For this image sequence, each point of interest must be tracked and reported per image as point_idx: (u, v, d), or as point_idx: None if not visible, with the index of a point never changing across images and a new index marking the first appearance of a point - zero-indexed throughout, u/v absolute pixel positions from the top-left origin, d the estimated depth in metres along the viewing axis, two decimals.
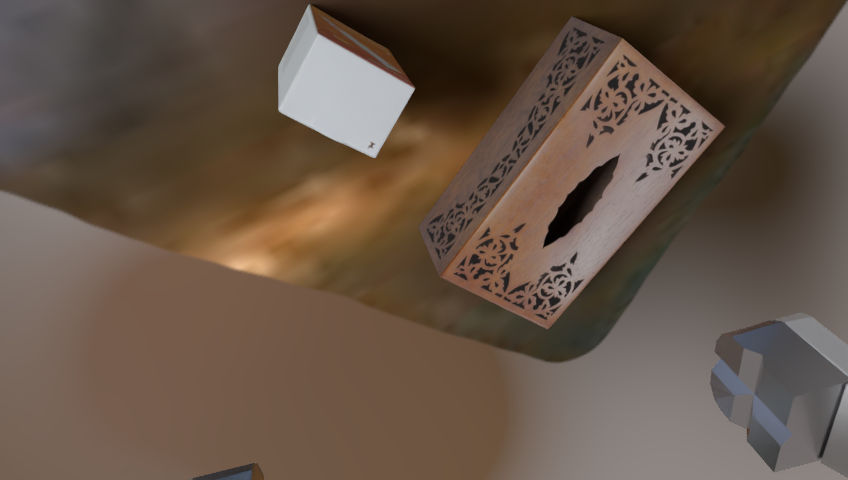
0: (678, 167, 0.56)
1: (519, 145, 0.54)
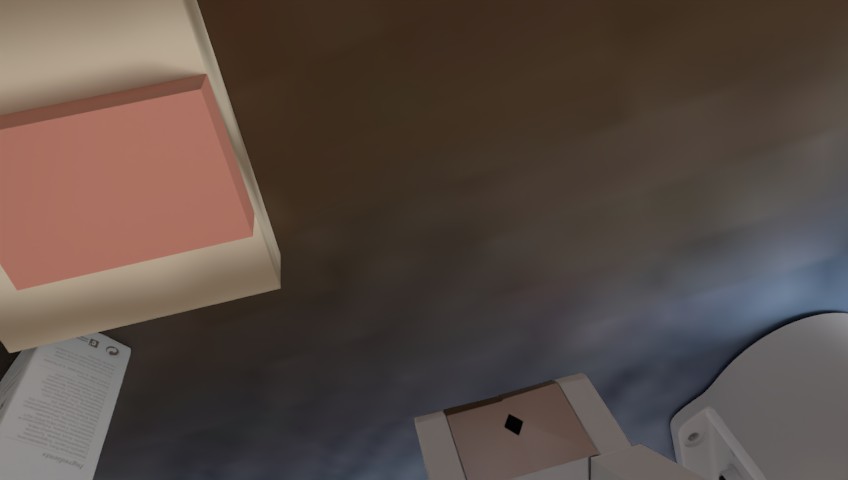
0: None
1: None
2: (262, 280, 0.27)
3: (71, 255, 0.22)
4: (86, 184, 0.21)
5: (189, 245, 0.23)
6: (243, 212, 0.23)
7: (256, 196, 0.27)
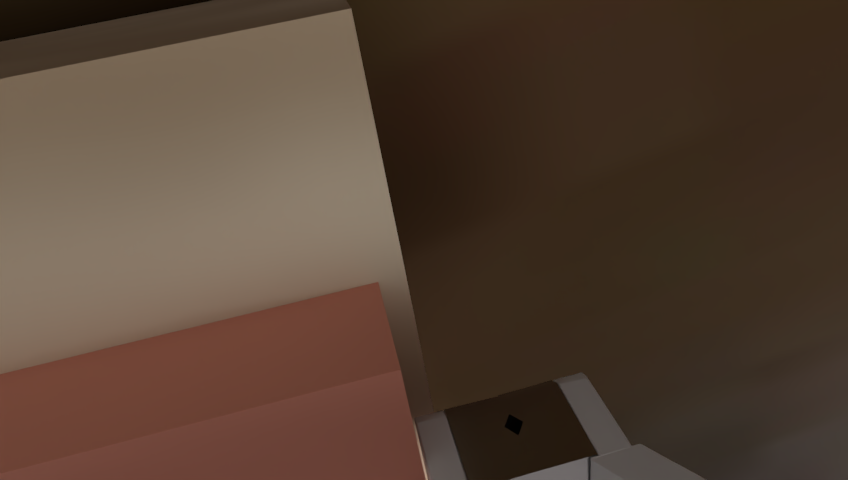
0: None
1: None
2: None
3: None
4: None
5: None
6: None
7: None
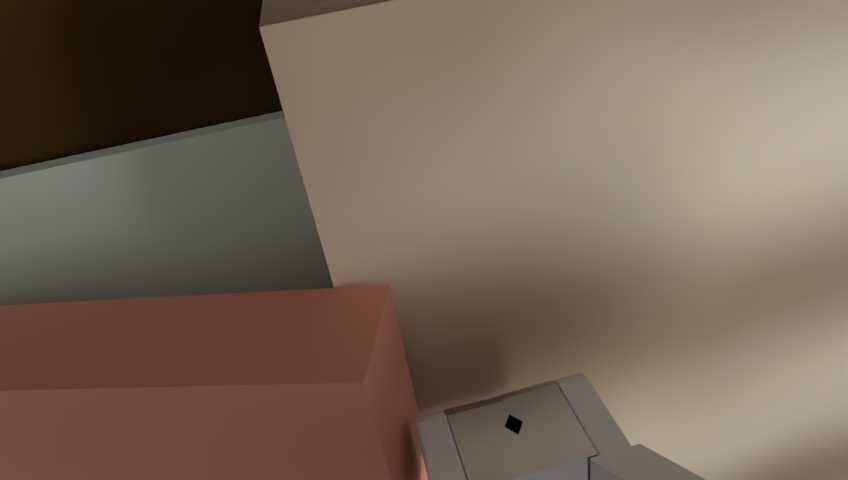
0: None
1: None
2: None
3: None
4: None
5: None
6: None
7: None
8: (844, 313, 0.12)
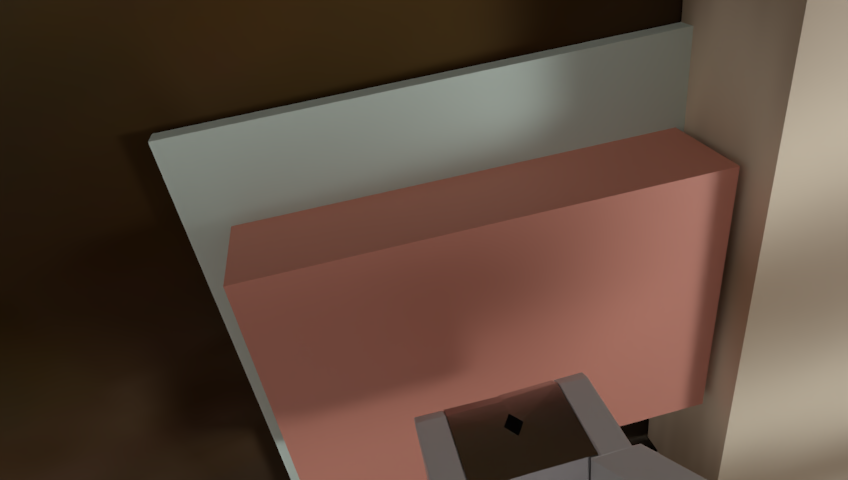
0: None
1: None
2: None
3: (417, 452, 0.12)
4: (482, 341, 0.11)
5: None
6: (705, 368, 0.13)
7: None
8: None
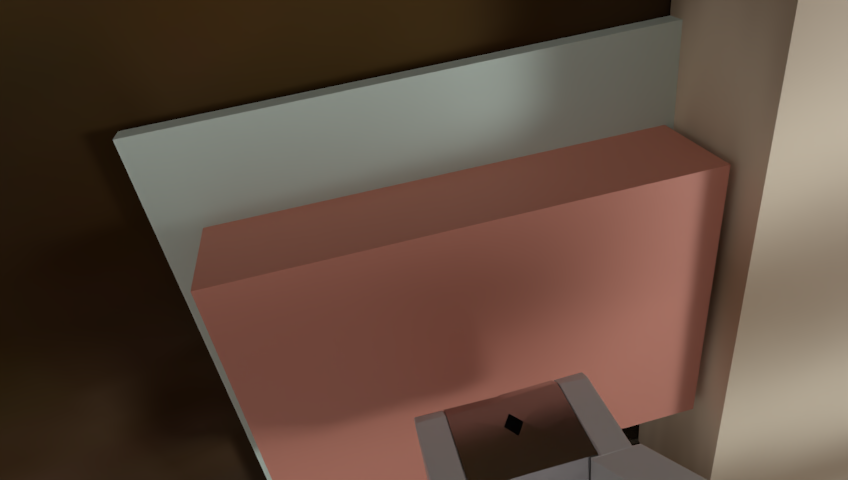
0: None
1: None
2: None
3: (399, 461, 0.12)
4: (465, 346, 0.11)
5: None
6: (696, 373, 0.13)
7: None
8: None
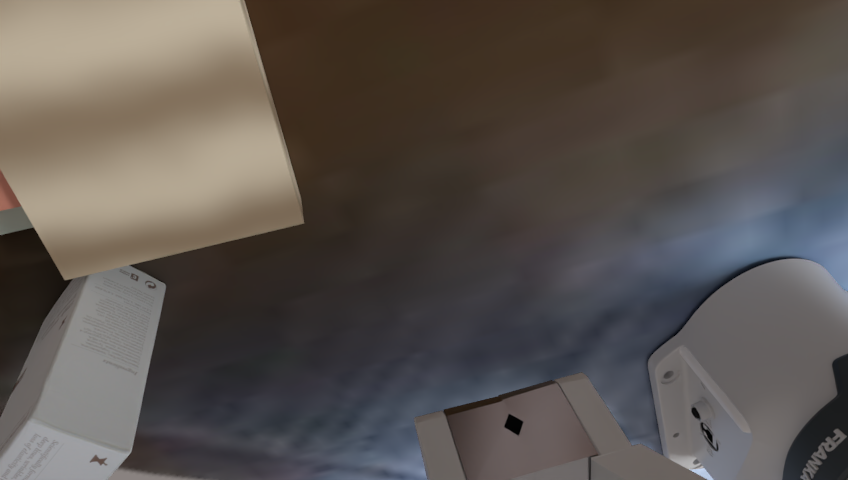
0: None
1: None
2: (288, 215, 0.31)
3: None
4: None
5: None
6: None
7: (282, 141, 0.30)
8: (222, 116, 0.27)
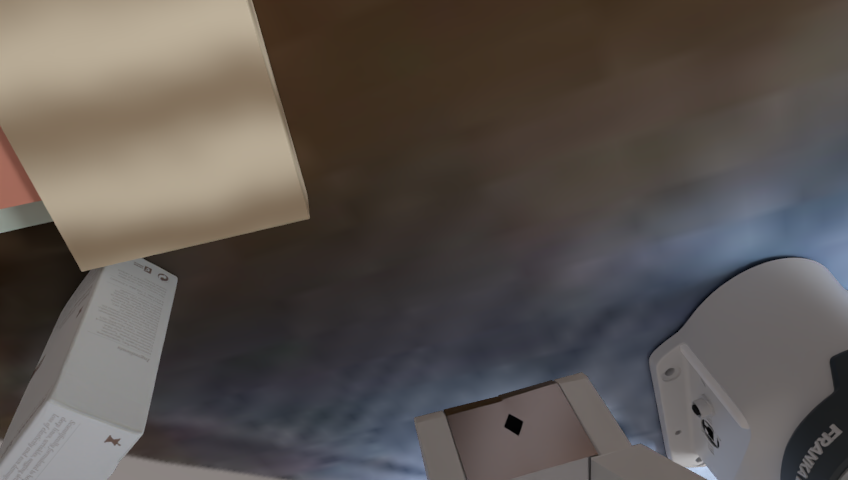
0: None
1: None
2: (295, 211, 0.32)
3: None
4: None
5: None
6: None
7: (289, 139, 0.32)
8: (231, 115, 0.29)
